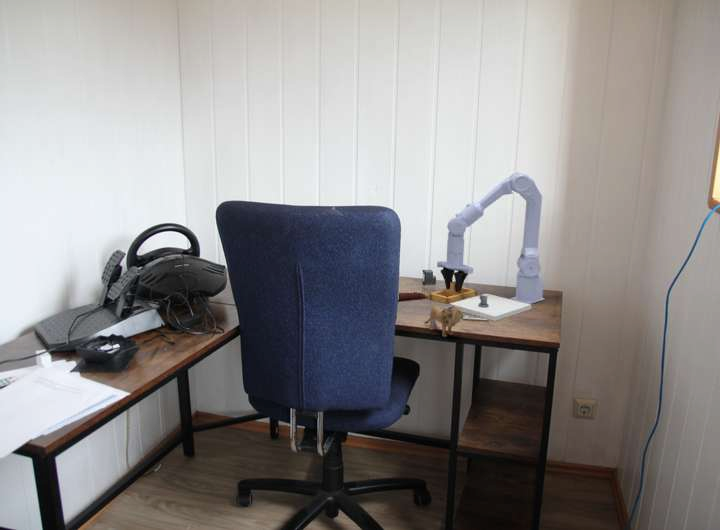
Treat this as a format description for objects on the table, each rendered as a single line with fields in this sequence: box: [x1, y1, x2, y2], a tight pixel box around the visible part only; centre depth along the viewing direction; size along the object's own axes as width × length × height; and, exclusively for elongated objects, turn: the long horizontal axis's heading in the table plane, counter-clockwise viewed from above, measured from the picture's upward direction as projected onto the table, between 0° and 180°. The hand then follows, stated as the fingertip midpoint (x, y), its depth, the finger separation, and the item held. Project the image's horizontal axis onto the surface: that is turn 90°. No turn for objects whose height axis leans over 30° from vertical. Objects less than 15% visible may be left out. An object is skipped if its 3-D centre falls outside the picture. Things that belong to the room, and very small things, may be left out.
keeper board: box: [448, 293, 532, 322], centre depth 176 cm, size 20×18×5 cm
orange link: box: [428, 281, 478, 305], centre depth 189 cm, size 16×8×6 cm, turn 131°
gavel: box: [398, 292, 429, 301], centre depth 186 cm, size 21×5×10 cm
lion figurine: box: [424, 305, 466, 338], centre depth 153 cm, size 15×5×9 cm, turn 35°
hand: (453, 290), depth 189 cm, fingers open, 4 cm apart
